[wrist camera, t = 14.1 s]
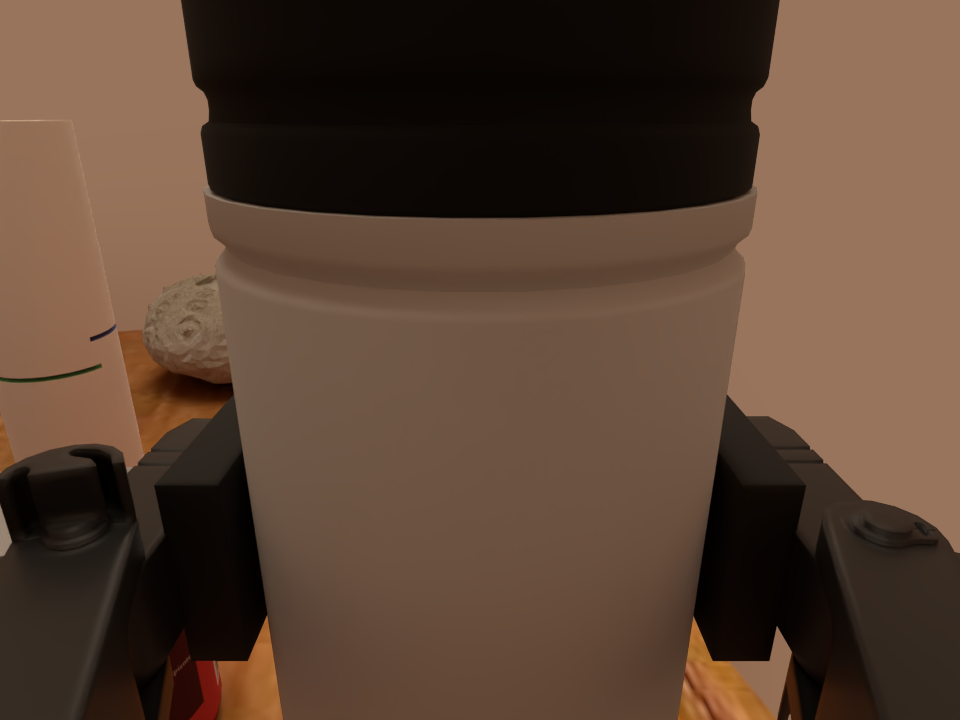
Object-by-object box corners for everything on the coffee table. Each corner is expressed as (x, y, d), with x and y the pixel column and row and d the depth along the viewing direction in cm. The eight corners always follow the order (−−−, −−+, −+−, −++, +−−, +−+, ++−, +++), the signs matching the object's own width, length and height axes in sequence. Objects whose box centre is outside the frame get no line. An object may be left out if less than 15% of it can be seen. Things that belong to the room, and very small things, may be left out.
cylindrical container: (173, 482, 47) (100, 120, 38) (104, 542, 41) (-2, 120, 32) (86, 474, 48) (-3, 120, 40) (6, 531, 42) (-123, 121, 33)
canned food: (126, 642, 33) (77, 453, 29) (261, 680, 31) (227, 480, 27) (-22, 781, 26) (-112, 558, 22) (137, 842, 24) (69, 606, 20)
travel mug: (310, 1286, 10) (-89, -467, 3) (343, 846, 16) (236, -81, 9) (687, 1211, 11) (1085, -359, 4) (583, 817, 17) (658, -67, 10)
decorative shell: (363, 366, 69) (356, 274, 66) (205, 422, 57) (186, 313, 53) (270, 332, 80) (260, 252, 77) (120, 372, 68) (100, 279, 64)
